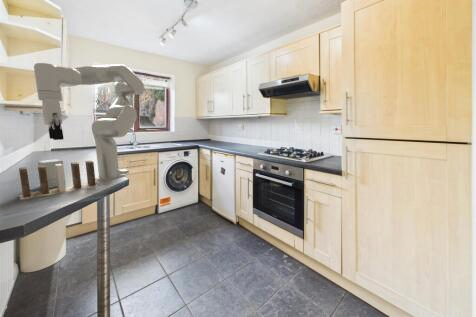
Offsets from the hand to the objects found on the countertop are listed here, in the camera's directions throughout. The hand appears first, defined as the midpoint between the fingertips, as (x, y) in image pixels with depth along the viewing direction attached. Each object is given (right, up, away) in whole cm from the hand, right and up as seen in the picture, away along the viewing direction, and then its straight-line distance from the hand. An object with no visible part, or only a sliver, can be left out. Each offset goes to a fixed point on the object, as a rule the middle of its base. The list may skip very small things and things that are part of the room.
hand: (56, 139), depth 93 cm
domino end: (-8, -23, -5) cm, 25 cm away
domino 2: (0, -22, +3) cm, 22 cm away
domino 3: (+4, -21, +7) cm, 22 cm away
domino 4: (+8, -20, +11) cm, 24 cm away
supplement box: (-10, -22, +11) cm, 26 cm away
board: (0, -23, +3) cm, 23 cm away
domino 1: (-4, -22, -1) cm, 22 cm away
